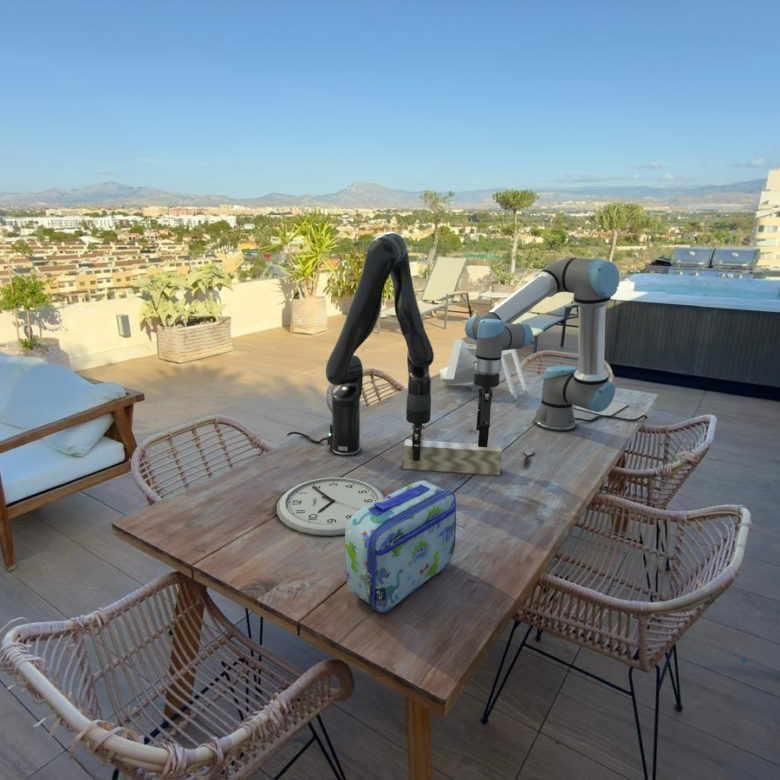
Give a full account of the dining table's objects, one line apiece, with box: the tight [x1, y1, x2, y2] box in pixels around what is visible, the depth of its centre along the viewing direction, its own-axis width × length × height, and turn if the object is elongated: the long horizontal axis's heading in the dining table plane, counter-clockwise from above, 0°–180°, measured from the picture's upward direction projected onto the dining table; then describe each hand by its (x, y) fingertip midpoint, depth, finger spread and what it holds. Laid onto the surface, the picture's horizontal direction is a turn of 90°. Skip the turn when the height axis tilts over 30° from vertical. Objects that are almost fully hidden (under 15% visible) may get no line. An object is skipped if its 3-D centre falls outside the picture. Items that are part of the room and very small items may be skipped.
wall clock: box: [276, 476, 386, 537], centre depth 142 cm, size 30×2×30 cm
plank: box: [402, 438, 503, 476], centre depth 165 cm, size 30×5×8 cm, turn 83°
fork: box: [523, 444, 534, 468], centre depth 173 cm, size 3×16×2 cm, turn 160°
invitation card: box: [573, 400, 629, 416], centre depth 226 cm, size 21×1×15 cm
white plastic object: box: [438, 338, 531, 400], centre depth 245 cm, size 37×45×31 cm
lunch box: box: [344, 480, 457, 614], centre depth 109 cm, size 26×11×21 cm, turn 135°
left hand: (416, 456), depth 166 cm, fingers closed on plank, 5 cm apart
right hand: (481, 438), depth 161 cm, fingers open, 13 cm apart
